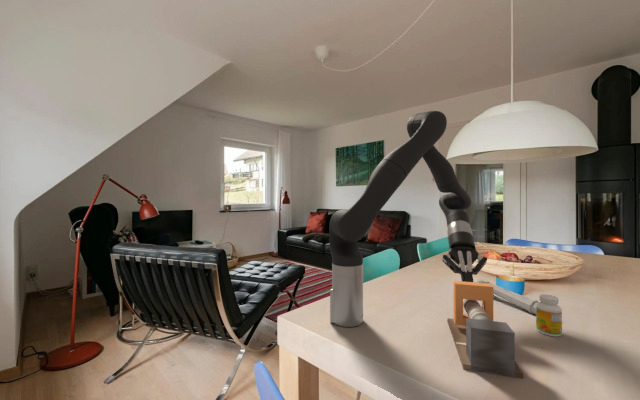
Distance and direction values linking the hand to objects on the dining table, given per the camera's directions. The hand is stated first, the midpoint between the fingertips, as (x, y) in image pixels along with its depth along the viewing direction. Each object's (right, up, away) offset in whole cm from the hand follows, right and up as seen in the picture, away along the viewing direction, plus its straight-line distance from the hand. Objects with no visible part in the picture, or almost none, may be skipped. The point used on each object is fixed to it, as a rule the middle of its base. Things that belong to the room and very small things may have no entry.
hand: (468, 285), depth 80 cm
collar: (-2, -9, -5) cm, 11 cm away
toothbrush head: (+22, -12, +17) cm, 30 cm away
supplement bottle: (+20, -12, -4) cm, 23 cm away
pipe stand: (-3, -11, -11) cm, 16 cm away
